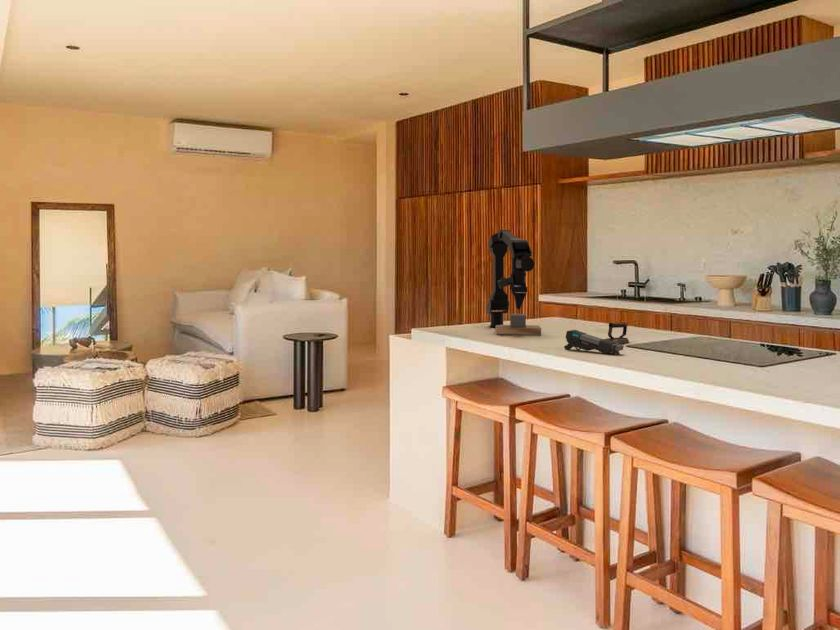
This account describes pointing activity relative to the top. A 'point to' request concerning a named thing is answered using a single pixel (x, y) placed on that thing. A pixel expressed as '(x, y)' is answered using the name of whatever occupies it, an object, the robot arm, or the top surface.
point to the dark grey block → (518, 320)
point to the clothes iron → (620, 339)
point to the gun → (591, 343)
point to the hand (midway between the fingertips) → (518, 308)
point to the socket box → (518, 330)
